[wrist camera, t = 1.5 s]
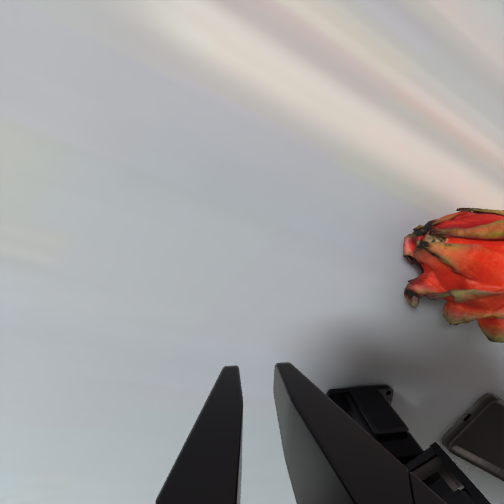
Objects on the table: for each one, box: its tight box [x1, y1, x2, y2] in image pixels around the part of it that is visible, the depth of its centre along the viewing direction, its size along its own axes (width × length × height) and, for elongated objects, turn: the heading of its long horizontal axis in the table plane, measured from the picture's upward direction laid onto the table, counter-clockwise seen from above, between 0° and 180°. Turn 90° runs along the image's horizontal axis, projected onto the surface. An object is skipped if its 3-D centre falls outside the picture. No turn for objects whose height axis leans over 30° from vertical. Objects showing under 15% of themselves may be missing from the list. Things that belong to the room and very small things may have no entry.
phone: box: [442, 394, 504, 481], centre depth 28 cm, size 8×1×15 cm
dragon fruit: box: [403, 208, 504, 343], centre depth 17 cm, size 8×8×12 cm
